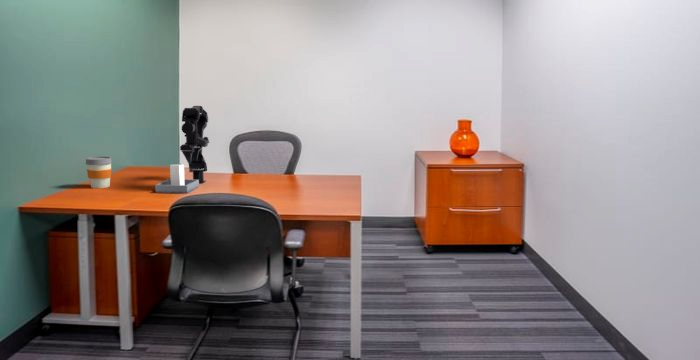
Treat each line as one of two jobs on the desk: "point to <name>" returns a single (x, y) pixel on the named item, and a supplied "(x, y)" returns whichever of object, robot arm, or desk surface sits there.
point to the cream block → (177, 174)
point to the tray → (177, 186)
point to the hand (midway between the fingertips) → (192, 162)
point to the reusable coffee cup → (99, 171)
